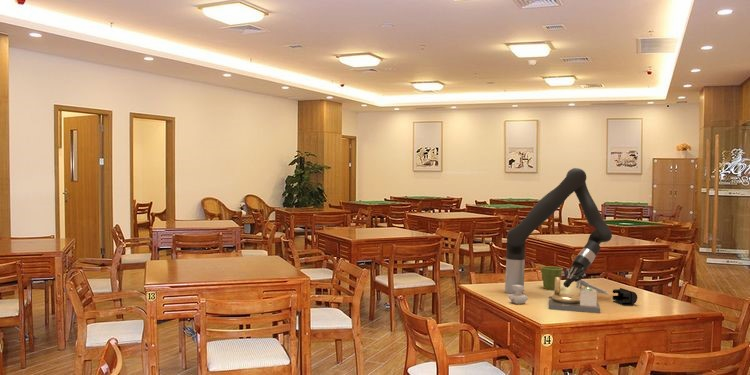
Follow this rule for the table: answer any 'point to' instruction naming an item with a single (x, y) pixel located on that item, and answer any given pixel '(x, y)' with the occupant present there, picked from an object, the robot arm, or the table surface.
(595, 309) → the base
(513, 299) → the white rounded piece
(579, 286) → the caliper
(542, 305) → the table surface
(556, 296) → the brass dish with post
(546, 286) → the plant pot
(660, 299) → the table surface
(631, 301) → the end cap
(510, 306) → the table surface
